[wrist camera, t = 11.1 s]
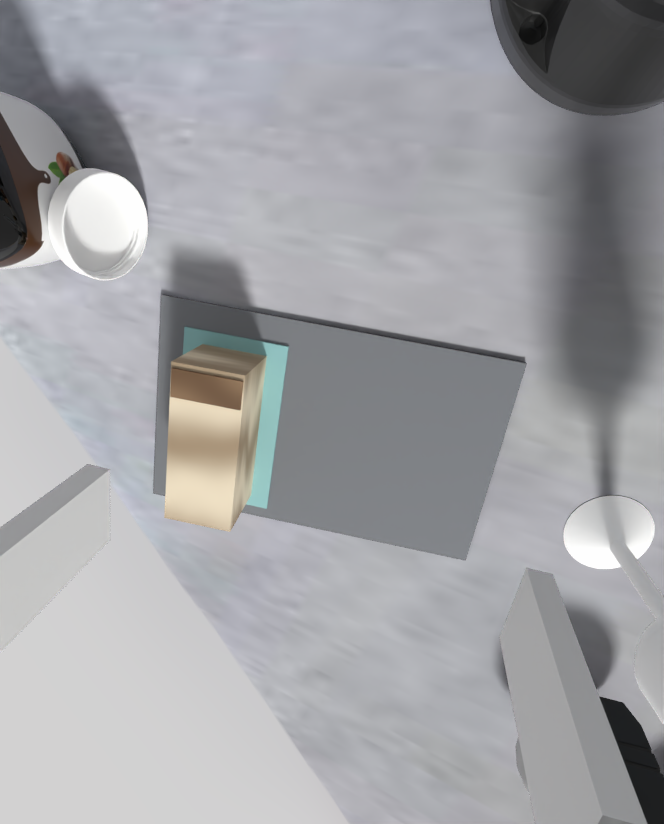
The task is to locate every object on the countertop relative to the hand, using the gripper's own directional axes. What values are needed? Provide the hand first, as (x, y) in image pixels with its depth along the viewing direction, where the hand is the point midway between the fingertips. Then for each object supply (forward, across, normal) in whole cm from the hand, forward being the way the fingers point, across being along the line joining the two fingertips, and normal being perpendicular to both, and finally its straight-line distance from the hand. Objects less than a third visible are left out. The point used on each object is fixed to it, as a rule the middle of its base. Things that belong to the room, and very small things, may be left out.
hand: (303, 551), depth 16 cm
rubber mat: (+23, -3, -6) cm, 24 cm away
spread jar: (+23, -23, +8) cm, 34 cm away
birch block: (+22, -10, -7) cm, 25 cm away
